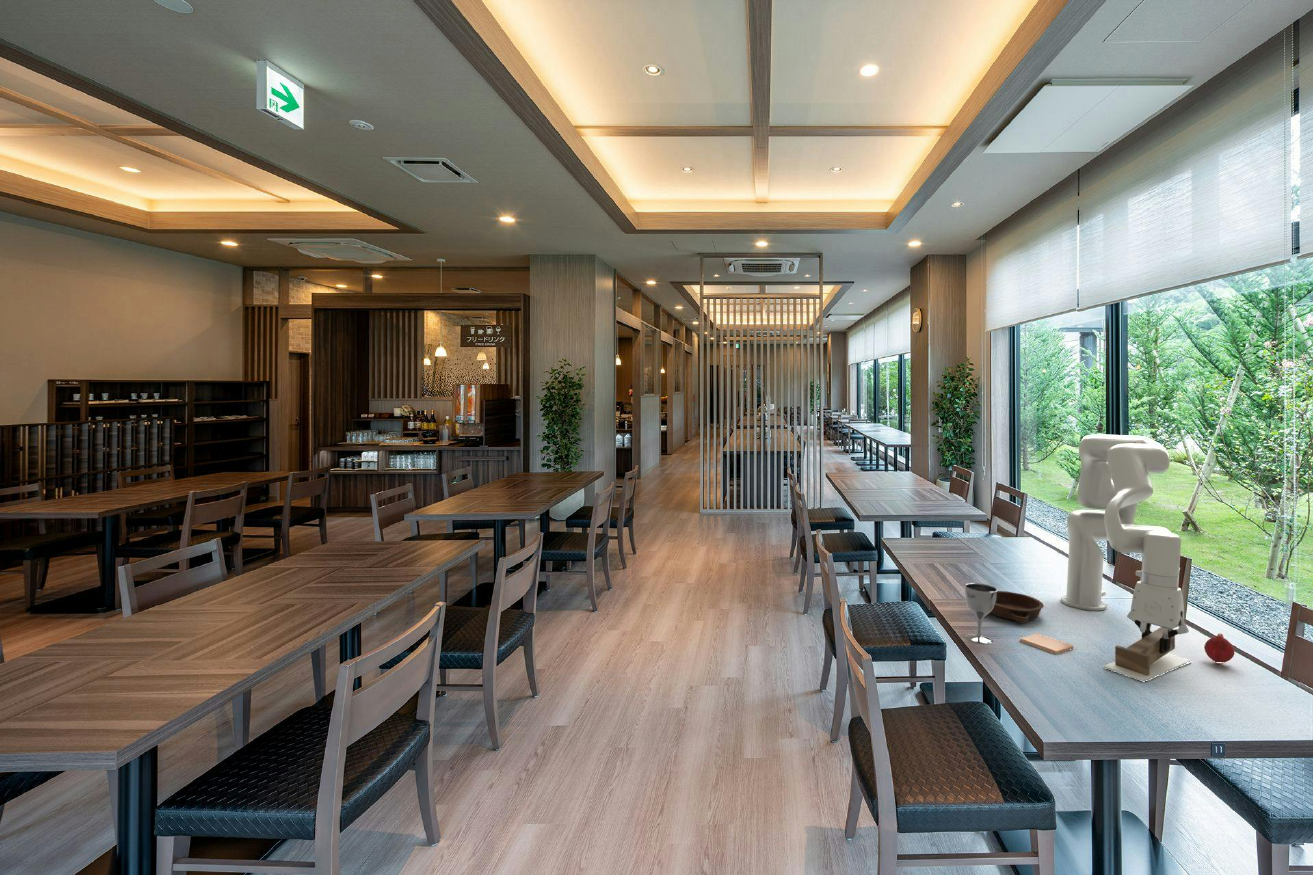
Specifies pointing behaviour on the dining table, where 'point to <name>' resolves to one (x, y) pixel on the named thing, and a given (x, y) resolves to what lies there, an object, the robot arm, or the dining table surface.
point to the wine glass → (980, 607)
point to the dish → (1016, 606)
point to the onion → (1219, 649)
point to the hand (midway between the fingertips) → (1155, 649)
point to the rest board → (1151, 667)
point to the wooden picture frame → (1046, 643)
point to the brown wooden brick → (1142, 653)
